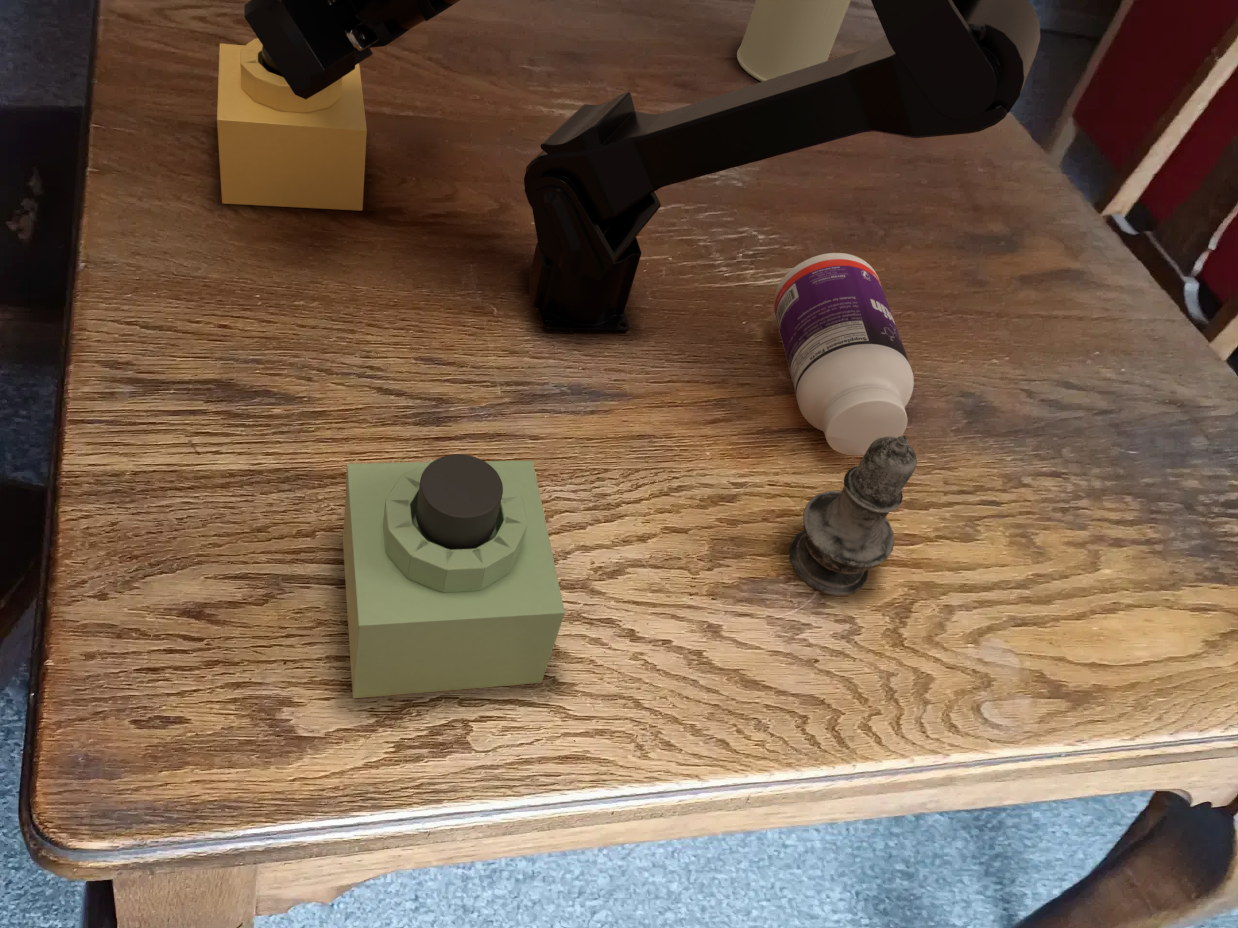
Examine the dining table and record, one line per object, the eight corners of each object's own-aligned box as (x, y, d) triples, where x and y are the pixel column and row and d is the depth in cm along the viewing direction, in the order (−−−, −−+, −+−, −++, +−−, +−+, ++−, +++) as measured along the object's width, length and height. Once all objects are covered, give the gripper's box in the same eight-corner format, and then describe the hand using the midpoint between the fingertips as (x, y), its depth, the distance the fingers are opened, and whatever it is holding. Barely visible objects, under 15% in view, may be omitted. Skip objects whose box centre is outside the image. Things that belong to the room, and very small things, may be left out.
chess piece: (870, 611, 67) (956, 489, 58) (780, 583, 67) (853, 457, 58) (873, 539, 71) (954, 416, 62) (788, 514, 71) (857, 386, 62)
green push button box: (514, 535, 65) (538, 435, 58) (541, 683, 59) (572, 590, 52) (342, 542, 62) (348, 437, 55) (352, 698, 56) (360, 601, 49)
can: (725, 40, 113) (761, -75, 105) (803, 47, 116) (844, -64, 108) (752, 88, 108) (792, -30, 99) (833, 94, 111) (879, -19, 102)
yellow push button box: (354, 135, 88) (359, 31, 81) (362, 211, 82) (368, 105, 75) (224, 126, 85) (218, 17, 78) (222, 203, 79) (215, 93, 72)
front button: (490, 485, 56) (497, 453, 54) (501, 547, 53) (508, 516, 51) (412, 487, 54) (416, 454, 53) (419, 551, 52) (424, 519, 50)
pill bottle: (884, 309, 83) (934, 449, 74) (783, 340, 85) (820, 480, 76) (867, 231, 77) (920, 373, 68) (759, 265, 79) (796, 408, 70)
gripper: (450, -214, 69) (303, -103, 79) (269, -145, 57) (119, -22, 66) (537, -45, 74) (388, 41, 83) (387, 53, 61) (232, 141, 71)
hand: (291, 47), depth 76 cm, fingers closed, pressing on back button
